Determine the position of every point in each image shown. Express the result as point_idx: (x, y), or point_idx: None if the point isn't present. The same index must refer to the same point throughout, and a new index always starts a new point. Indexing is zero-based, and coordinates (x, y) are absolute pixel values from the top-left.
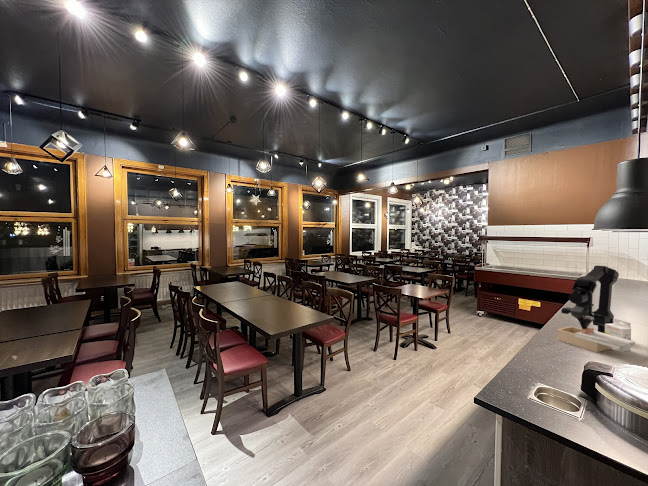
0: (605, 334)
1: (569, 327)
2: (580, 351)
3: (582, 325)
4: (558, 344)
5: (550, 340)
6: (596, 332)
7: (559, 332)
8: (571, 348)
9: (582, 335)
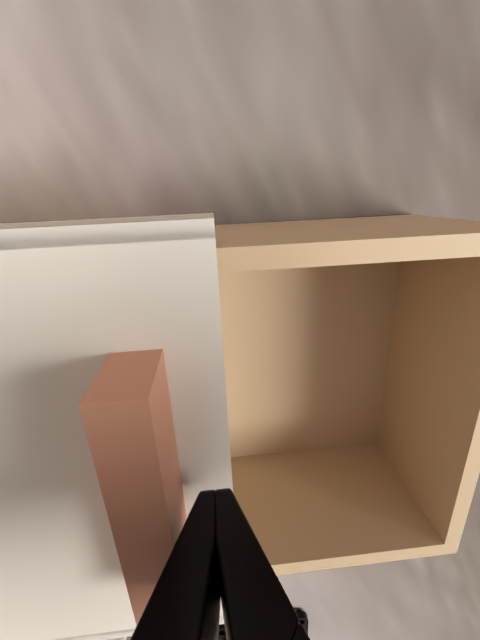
0: (25, 617)
1: (454, 502)
2: (39, 30)
3: (230, 583)
4: (320, 11)
5: (449, 81)
6: (126, 590)
7: (469, 225)
8: (157, 29)
9: (63, 225)
